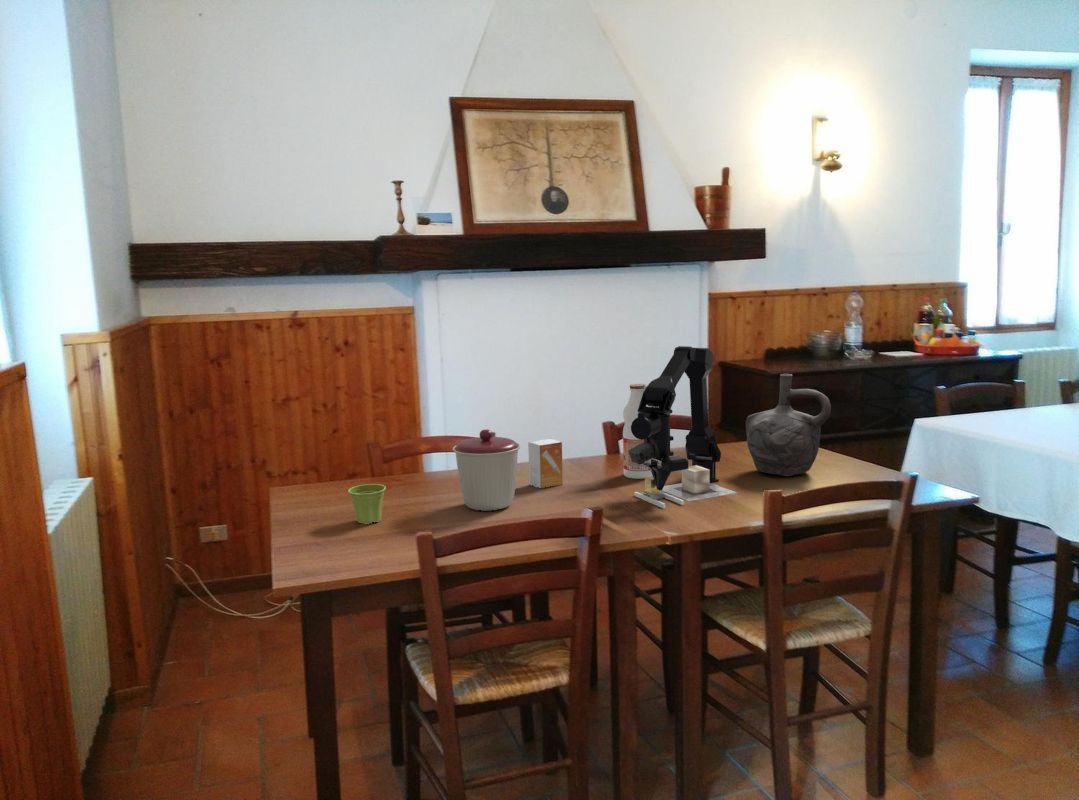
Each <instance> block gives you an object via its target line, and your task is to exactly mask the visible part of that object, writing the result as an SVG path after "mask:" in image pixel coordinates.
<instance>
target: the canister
mask: <svg viewBox="0 0 1079 800" xmlns="http://www.w3.org/2000/svg"><path fill="white" fill-rule="evenodd" d="M520 449H521V444H520V443H518V442H517V441H515V440H513V439H511V438H507V437H503V436H502V437H501V436H493V432H492V430H491V429H482V430H480V432H479V437H474V438H473V437H472V438H468V439H464V440H462V441H460V442H458V443H457V444H456V445H454V446H453V447H452V451H453V452H454V453H455V458H456V459H455V460H456V465H457V473H458V478H459V484H460V485H459V487H460V490H461V494H462V495H461V496H462V500H463V502H464V504H465V505H466V507H468V509H471V510H475V511H479V510H481V512H482V511H483V512H493V511H497V510H498V509H499V510H503V509H506V508H508V507H509V506H510V505H511V504H512V503H513V501H514V498H515V491H516V482H517V469H518V468H517V467H518V466H517V465H518V454H519V450H520ZM492 510H493V511H492Z"/></svg>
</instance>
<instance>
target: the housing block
mask: <svg viewBox="0 0 1079 800" xmlns="http://www.w3.org/2000/svg"><path fill="white" fill-rule="evenodd" d="M681 483H682V489H685V490H687V491H690V492H692V493H699V492H705V491H709V485H710V483H711V482H710V470H709V469H706V468H703V467H700V466H697V465H695V466H691V465H689V469H685V470H681Z"/></svg>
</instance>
